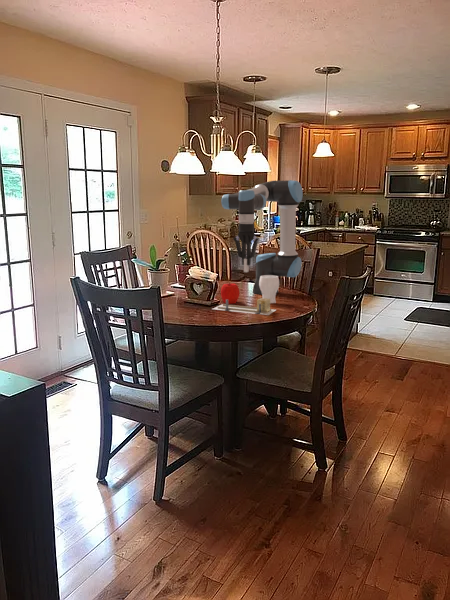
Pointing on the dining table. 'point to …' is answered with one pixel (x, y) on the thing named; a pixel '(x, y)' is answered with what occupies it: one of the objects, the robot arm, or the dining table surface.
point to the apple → (230, 293)
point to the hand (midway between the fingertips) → (246, 271)
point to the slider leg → (263, 305)
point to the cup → (269, 287)
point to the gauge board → (241, 309)
